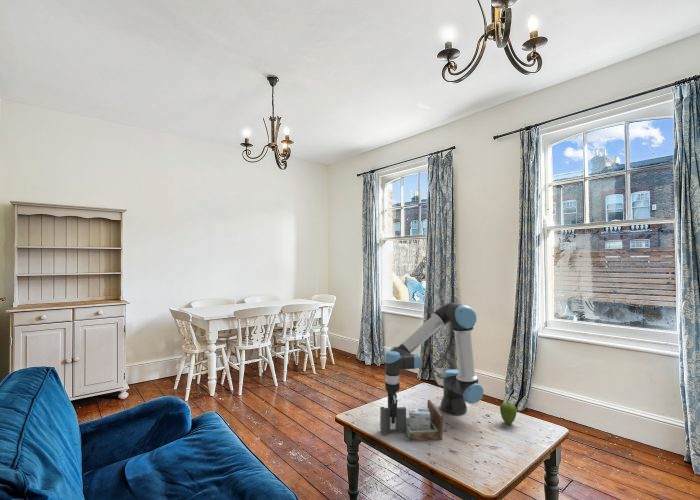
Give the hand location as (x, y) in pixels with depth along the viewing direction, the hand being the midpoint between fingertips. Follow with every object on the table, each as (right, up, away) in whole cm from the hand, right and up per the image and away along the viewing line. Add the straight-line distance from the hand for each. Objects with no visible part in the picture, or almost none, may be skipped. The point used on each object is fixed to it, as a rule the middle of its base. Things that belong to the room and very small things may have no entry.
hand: (392, 427), depth 188 cm
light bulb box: (+15, -3, +2) cm, 15 cm away
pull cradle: (+8, -2, +1) cm, 8 cm away
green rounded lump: (+65, -3, +10) cm, 66 cm away
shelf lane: (+16, -3, +2) cm, 16 cm away
